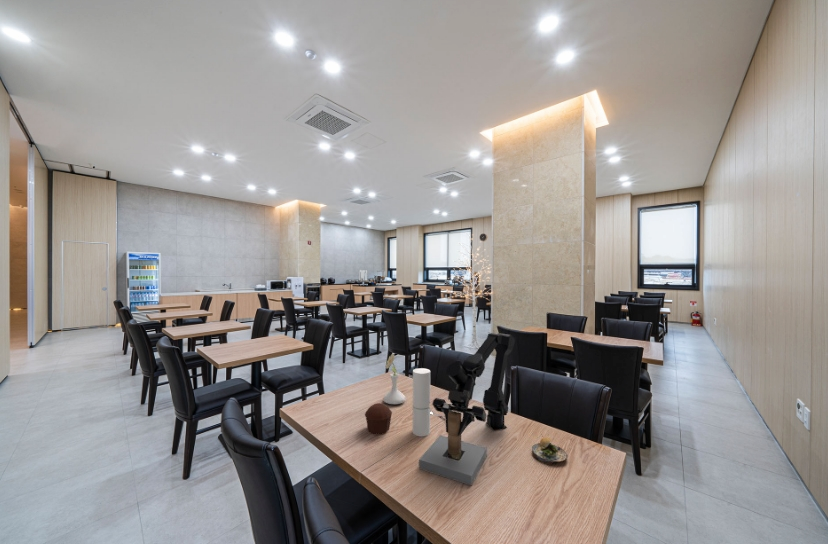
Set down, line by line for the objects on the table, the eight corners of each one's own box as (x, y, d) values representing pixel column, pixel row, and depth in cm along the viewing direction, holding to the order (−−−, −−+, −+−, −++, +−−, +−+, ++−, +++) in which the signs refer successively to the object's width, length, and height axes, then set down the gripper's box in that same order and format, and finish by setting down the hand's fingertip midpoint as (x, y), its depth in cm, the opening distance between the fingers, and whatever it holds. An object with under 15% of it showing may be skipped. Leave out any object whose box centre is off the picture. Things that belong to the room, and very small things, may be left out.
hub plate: (440, 443, 121) (440, 435, 121) (486, 455, 112) (486, 447, 112) (418, 468, 105) (419, 459, 105) (471, 485, 96) (471, 475, 96)
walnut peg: (450, 447, 111) (450, 410, 111) (461, 450, 109) (461, 412, 109) (446, 453, 107) (446, 415, 107) (457, 456, 105) (457, 417, 105)
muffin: (367, 422, 137) (367, 399, 137) (393, 423, 137) (393, 399, 137) (362, 436, 125) (362, 411, 125) (390, 437, 125) (390, 411, 125)
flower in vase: (385, 396, 165) (386, 349, 166) (407, 398, 164) (407, 350, 164) (379, 407, 153) (380, 355, 153) (402, 408, 151) (403, 356, 151)
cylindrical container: (432, 429, 131) (432, 369, 131) (427, 437, 124) (427, 374, 125) (415, 426, 133) (416, 367, 134) (410, 434, 127) (410, 372, 127)
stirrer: (420, 404, 148) (426, 401, 151) (419, 411, 148) (426, 408, 151) (456, 419, 135) (462, 416, 138) (455, 428, 135) (461, 424, 138)
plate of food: (553, 470, 105) (553, 447, 105) (524, 453, 115) (524, 432, 115) (574, 459, 111) (574, 438, 111) (545, 444, 121) (545, 424, 121)
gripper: (434, 376, 116) (421, 417, 107) (484, 384, 108) (474, 431, 98) (442, 390, 123) (430, 431, 114) (490, 399, 115) (481, 444, 105)
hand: (452, 433), depth 107 cm, fingers closed on walnut peg, 4 cm apart
